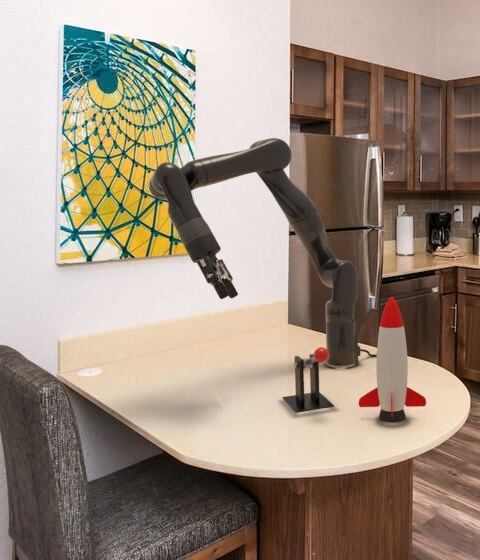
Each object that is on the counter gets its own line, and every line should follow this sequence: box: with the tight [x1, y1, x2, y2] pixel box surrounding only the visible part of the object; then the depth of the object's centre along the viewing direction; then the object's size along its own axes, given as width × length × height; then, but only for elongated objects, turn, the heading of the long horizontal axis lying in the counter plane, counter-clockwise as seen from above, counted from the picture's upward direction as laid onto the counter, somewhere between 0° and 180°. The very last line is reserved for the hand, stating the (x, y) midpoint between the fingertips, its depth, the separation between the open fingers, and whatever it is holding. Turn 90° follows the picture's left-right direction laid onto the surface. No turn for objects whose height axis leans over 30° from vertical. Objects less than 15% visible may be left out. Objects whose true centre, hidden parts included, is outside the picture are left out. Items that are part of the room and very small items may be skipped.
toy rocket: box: [358, 296, 427, 424], centre depth 147 cm, size 11×11×30 cm
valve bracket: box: [282, 353, 335, 414], centre depth 157 cm, size 12×10×13 cm
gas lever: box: [302, 346, 329, 371], centre depth 151 cm, size 16×4×4 cm, turn 23°
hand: (230, 297), depth 151 cm, fingers open, 8 cm apart
